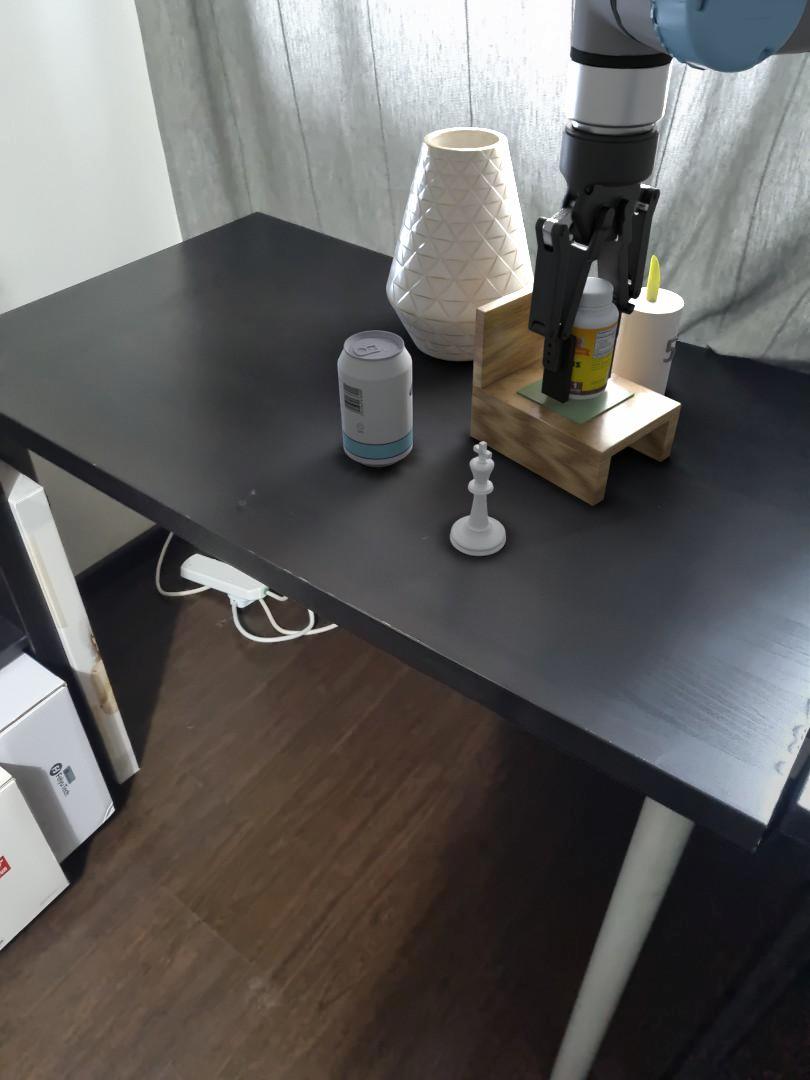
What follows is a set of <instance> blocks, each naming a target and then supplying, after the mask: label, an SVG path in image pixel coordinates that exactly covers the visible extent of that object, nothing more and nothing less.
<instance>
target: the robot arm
mask: <svg viewBox="0 0 810 1080" xmlns="http://www.w3.org/2000/svg"><path fill="white" fill-rule="evenodd" d="M804 53H810V0H574V9H573V21H572V32H571V42H570V53H569V59H570V60H569V69H568V78H567V87H566V94H565V95H566V96H565V105H564V114H565V116H566V117H567V118H568V120H567V121H566V122H565V123H564V125H563V126H562V128H561V138H560V147H559V158H558V170H559V173H560V174H561V175H562V176H563V178H564V180H565V182H566V189H565V191H564V195H563V198H562V201H561V203H560V211H558V212H556V213H555V214H554V215H553V216H552V217H550V218H548V217H545V216H540V217H538V218H537V220H536V221H535V226H534V230H535V231H534V232H535V238H536V245H537V246H536V247H537V249H536V259H535V265H534V273H533V278H534V282H533V290H532V299H531V307H530V315H529V324H528V329H529V330H530V331H532V332H534V333H537V334H539V335H541V336H543V337H545V340H544V349H543V352H544V353H543V359H542V364H543V367H544V370H543V380H542V389H541V393H543V394H545V395H547V396H549V397H551V398H553V399H555V400H557V401H559V402H561V403H565V402H567V401H568V400H569V393H570V385H571V377H572V370H573V362H574V354H575V347H576V339H577V336H574V335H572V334H571V331H572V328H573V324H574V321H575V318H576V314H577V311H578V308H579V304H580V301H581V298H582V294H583V291H584V288H585V284H586V281H587V278H588V277H589V275H590V271H591V267H592V264H593V263H594V262H595V261H596V263H597V265H596V266H597V278H601V279H604V280H607V281H608V282H610V283H611V284H612V285H613V296H612V297H613V299H612V303H613V304H614V305H615V306H616V307H617V309H618V312H619V316H618V323H617V329H616V335H615V341H614V347H613V353H612V359H611V365H610V371H609V377H608V379H609V378H611V372H612V366H613V360H614V354H615V348H616V342H617V337H618V335H619V329H620V322H621V316H622V312H623V313H625V314H628V315H630V314H631V313H632V312H633V311H634V308H635V304H632V303H629V300H630V299H631V298H632V299H634V300H636V299H637V298H638V297H639V296H640V294H641V290H642V288H643V283H644V277H645V269H646V263H647V258H648V257H647V256H648V251H649V244H650V237H651V231H652V224H653V217H654V214H655V212H656V208H657V205H658V202H659V199H660V196H661V190H660V189H659V188H657V187H653V186H650V185H646V184H642V183H644V182H645V181H647V180H648V179H649V178H651V177H652V175H653V174H654V170H655V165H656V160H657V153H658V148H659V144H660V136H661V129H660V128H659V126H658V124H657V123H658V122H659V121H661V120H662V119H663V118H664V116H665V111H666V105H667V99H668V93H669V86H670V79H671V72H672V66H673V61H674V58H675V60H676V61H677V62H678V63H680V64H686V65H687V66H689V68H691V69H694V70H699V71H702V72H703V71H706V70H710V71H713V72H715V73H716V72H717V73H721V74H722V73H723V74H737V73H741V72H745V71H748V70H751V69H753V68H754V67H755V66H757V65H759V64H761V63H763V62H764V61H765V60H766V59H768V58H770V57H772V56H782V55H783V56H784V55H797V54H804ZM578 244H579V245H578ZM581 245H582V246H581ZM584 246H585V247H584ZM629 281H630V282H629ZM560 322H561V323H560Z"/></svg>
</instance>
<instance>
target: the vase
mask: <svg viewBox="0 0 810 1080" xmlns="http://www.w3.org/2000/svg"><path fill="white" fill-rule="evenodd" d="M510 155H511V154H510V149H509V144H508V139H507V137H506V135H504V134H503V133H501V132H498V131H496V130H493V129H489V128H482V127H481V128H480V127H465V126H464V127H449V128H448V127H447V128H443V129H437V130H434V131H432V132H428V133H427V134H426V135H424V137H423V138H422V142H421V146H420V150H419V154H418V157H417V161H416V165H415V169H414V173H413V178H412V182H411V185H410V190H409V193H408V198H407V201H406V206H405V209H404V212H403V213H404V214H403V218H402V222H401V226H400V229H399V233H398V237H397V242H396V246H395V250H394V254H393V257H392V262H391V265H390V270H389V273H388V274H389V275H388V277H387V281H386V287H385V289H386V291H385V292H386V297H387V299H388V302H389V303H390V305H391V307H392V308H393V310H394V312H395V313H396V315H397V317H398V318H399V320H400V322H401V323H402V325H403V327H404V328H405V330H406V331H407V333H408V335H409V336H410V338H411V340H412V342H413V343H414V345H415V346H416V347H417V349H419V350H420V351H421V352H422V353H423V354H425V355H427V356H430V357H432V358H434V359H437V360H442V361H450V362H470V361H471V362H472V361H474V345H475V321H476V308H478V307H481V306H483V305H486V304H488V303H490V302H493V301H495V300H497V299H500V298H502V297H504V296H507V295H509V294H512V293H514V292H516V291H519V290H521V289H523V288H526V287H528V286H530V285H533V282H534V273H533V269H532V263H531V259H530V253H529V248H528V243H527V237H526V231H525V227H524V222H523V216H522V211H521V206H520V202H519V197H518V192H517V191H518V190H517V186H516V180H515V176H514V171H513V164H512V160H511V156H510Z"/></svg>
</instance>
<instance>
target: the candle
mask: <svg viewBox="0 0 810 1080" xmlns="http://www.w3.org/2000/svg"><path fill="white" fill-rule="evenodd" d="M659 262H660V261H659V260H658V258H657V256H656V255H655V254H653V255H652V256H651V259H650V264H649V270H648V271H649V272H648V278H647V283H646V287H642V290H641V294H640V296H639V297H638V298H637V299H636V300H634V299H632V298H631V299H630V300H629V303H632V304H635V308H634V311H633V312H632V313H631V314H630V315H628V314H625V313H623V312H622V316H621V322H620V329H619V335H618V337H617V342H616V348H615V354H614V360H613V366H612V373H614V374H616V375H618V376H621V377H623V378H625V379H627V380H630V381H632V382H634V383H636V384H639V385H641V386H643V387H645V388H647V389H650V390H652V391H654V392H656V393H659V394H661V395H663V396H665V393H666V390H667V389H666V388H667V385H668V384H667V383H668V380H669V376H670V375H669V374H670V371H671V366H672V361H673V358H674V357H675V354H676V343H677V341H678V340H679V336H678V334H679V329H680V324H681V319H682V315H683V310H684V305H685V302H684V299H683V298H682V296H680V295H678V294H677V293H675V292H673V291H670V290H668V289H664V288H660V287H661V267H660V263H659Z"/></svg>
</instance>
